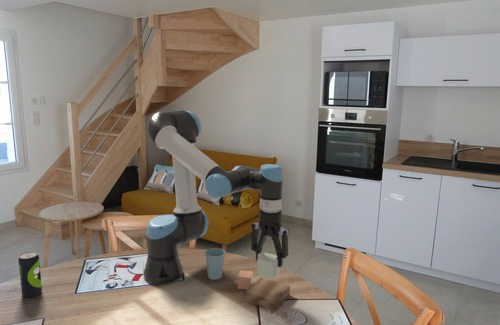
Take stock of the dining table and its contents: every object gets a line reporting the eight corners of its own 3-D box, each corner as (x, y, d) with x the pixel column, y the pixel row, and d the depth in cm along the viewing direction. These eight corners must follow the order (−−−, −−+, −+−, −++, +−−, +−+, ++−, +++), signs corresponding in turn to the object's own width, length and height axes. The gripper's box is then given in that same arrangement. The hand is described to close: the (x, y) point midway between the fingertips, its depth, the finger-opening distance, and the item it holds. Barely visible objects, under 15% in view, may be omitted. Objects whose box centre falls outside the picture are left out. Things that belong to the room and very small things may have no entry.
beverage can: (19, 293, 134) (15, 254, 131) (38, 287, 138) (35, 249, 135) (25, 300, 129) (21, 260, 127) (44, 293, 134) (41, 254, 131)
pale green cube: (257, 274, 131) (257, 258, 130) (264, 268, 136) (265, 252, 135) (272, 278, 128) (272, 262, 127) (279, 272, 134) (280, 256, 133)
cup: (223, 271, 154) (223, 247, 152) (225, 280, 146) (226, 255, 144) (205, 272, 152) (204, 248, 150) (206, 281, 145) (206, 256, 143)
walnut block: (244, 302, 132) (244, 291, 132) (260, 287, 143) (260, 277, 142) (275, 312, 127) (275, 301, 126) (289, 296, 137) (290, 286, 136)
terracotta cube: (237, 288, 140) (237, 276, 140) (240, 282, 145) (240, 270, 144) (250, 290, 140) (250, 278, 139) (252, 283, 145) (253, 271, 144)
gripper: (241, 207, 130) (240, 269, 134) (291, 217, 121) (289, 283, 125) (251, 202, 136) (250, 261, 140) (300, 211, 127) (297, 274, 131)
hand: (268, 272), depth 133 cm, fingers closed on pale green cube, 6 cm apart
